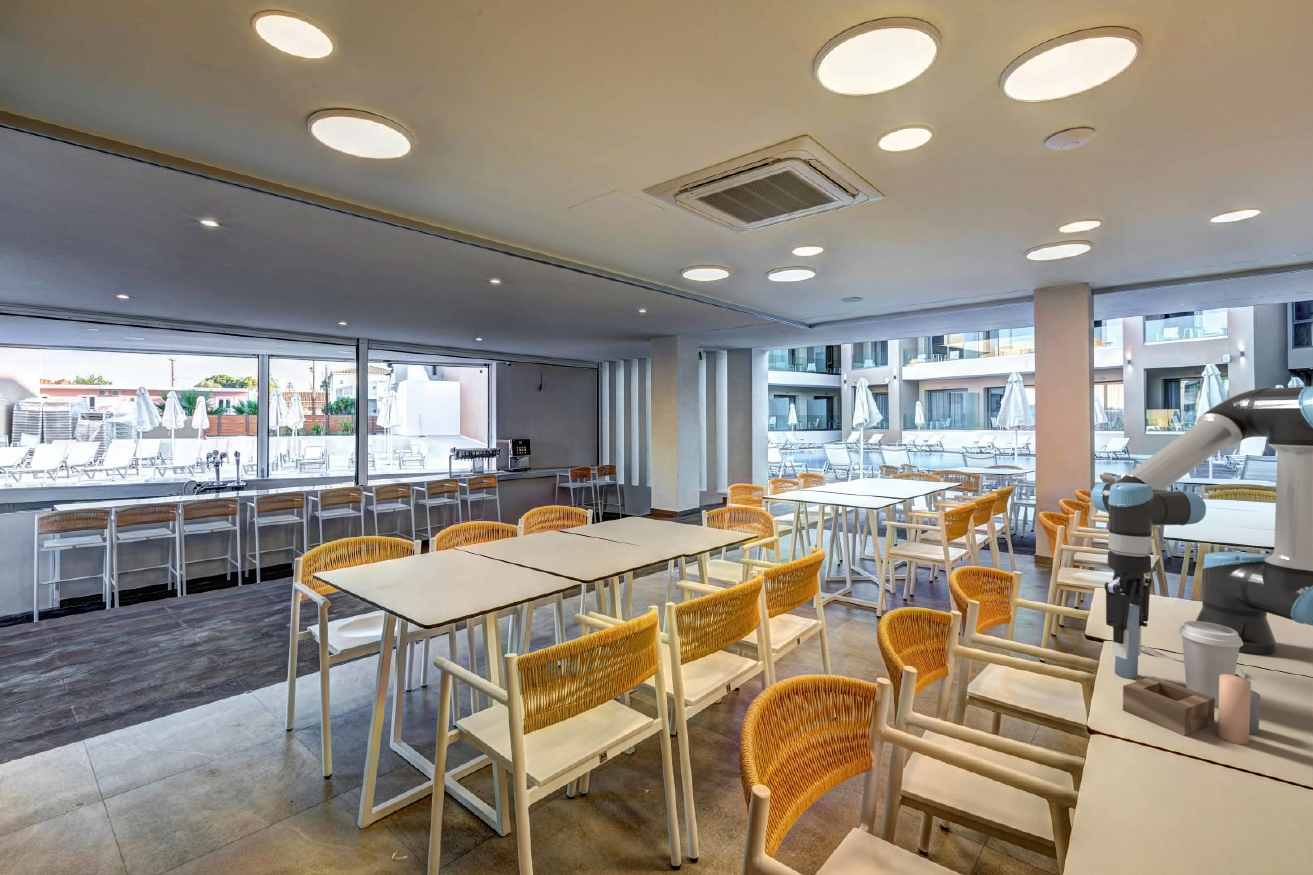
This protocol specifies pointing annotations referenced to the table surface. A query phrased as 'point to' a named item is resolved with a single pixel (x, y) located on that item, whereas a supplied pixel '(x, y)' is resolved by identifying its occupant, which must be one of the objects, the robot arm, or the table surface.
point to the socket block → (1169, 705)
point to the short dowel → (1254, 712)
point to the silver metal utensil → (1158, 654)
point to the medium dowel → (1234, 709)
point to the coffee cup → (1208, 655)
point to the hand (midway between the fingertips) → (1126, 654)
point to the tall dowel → (1130, 647)
